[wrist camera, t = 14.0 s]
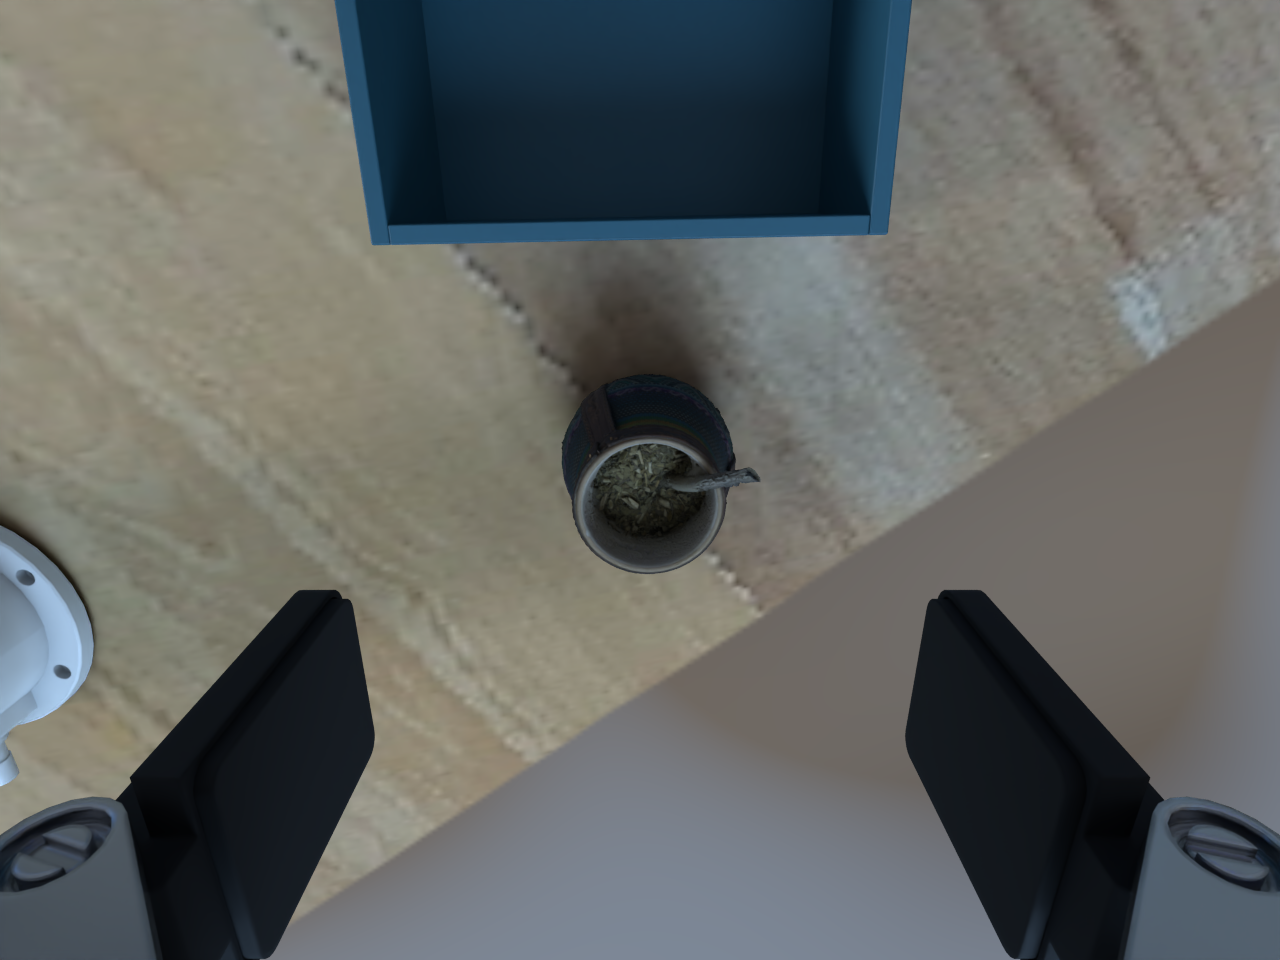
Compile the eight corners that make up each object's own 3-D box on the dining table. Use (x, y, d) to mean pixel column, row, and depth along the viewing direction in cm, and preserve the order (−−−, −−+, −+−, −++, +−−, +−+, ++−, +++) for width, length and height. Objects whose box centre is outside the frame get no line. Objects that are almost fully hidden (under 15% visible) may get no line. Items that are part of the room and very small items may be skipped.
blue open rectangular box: (828, 227, 29) (888, 234, 22) (438, 236, 29) (371, 245, 22) (861, -218, 24) (954, -400, 16) (385, -204, 24) (276, -378, 17)
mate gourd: (535, 431, 32) (490, 523, 23) (659, 320, 30) (666, 371, 21) (639, 536, 34) (637, 661, 25) (762, 439, 32) (810, 534, 23)
